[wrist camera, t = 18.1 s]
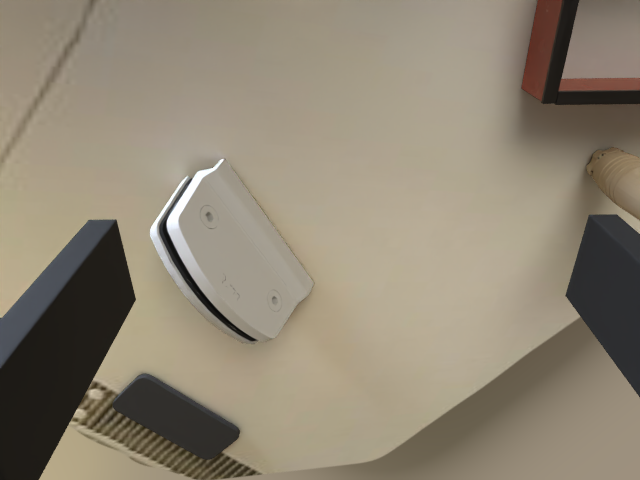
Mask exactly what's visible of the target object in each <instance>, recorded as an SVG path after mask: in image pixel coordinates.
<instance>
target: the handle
mask: <svg viewBox="0 0 640 480" xmlns="http://www.w3.org/2000/svg"><path fill="white" fill-rule="evenodd" d="M592 156H593V157H592V160H591V162H590V163H589V164H588V165H587V167H586V170H587V172H588V173H589V175H590V176H592V177H593V179H594V181H595V182H596V183H597V185H598V187H599V188H600V189H601V190H602V191H603V192H604V193H605V194H606V196H607V197H608V198H609V199H611V200H612V201H613V202H614V203H615V204H617V205H618V206H619V207H620V208H622V209H623V210H625V211H627V212H628V213H630V214H631V215H633V216H634V217H636V218H637V219H639V220H640V158H639V157H636V156H634V155H631V154H628V153H625V152H623V150H620V149H618V148H614V147H611V148H610V149H607V150H604V151H600V150H598V151H596V152H595V153H594V154H593V155H592Z"/></svg>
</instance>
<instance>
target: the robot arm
mask: <svg viewBox="0 0 640 480" xmlns="http://www.w3.org/2000/svg"><path fill="white" fill-rule="evenodd" d="M566 297H567V298H568V300H569V301H570V302H571V304H572V305H573V307H574V308H575V309H576V311H577V312H578V313H579V315H580V316H581V317H582V319H583V320H584V322H585V323H586V324H587V326H588V327H589V328H590V330H591V331H592V332H593V334H594V335H595V337H596V338H597V339H598V341H599V342H600V343H601V345H602V346H603V347H604V349H605V350H606V352H607V353H608V354H609V356H610V357H611V358H612V360H613V361H614V362H615V364H616V365H617V367H618V368H619V369H620V371H621V372H622V374H623V375H624V376H625V377H626V379H627V380H628V382H629V383H630V384H631V386H632V387H633V389H634V390H635V391H636V393H637V394H638V395H639V397H640V234H639V233H638V232H637V231H635V230H634V229H633V228H632V227H631V226H630V225H628V224H627V223H626V222H625V221H624V220H623V219H621V218H620V217H619V216H618V215H589V217H588V220H587V224H586V227H585V231H584V234H583V237H582V241H581V244H580V248H579V251H578V255H577V258H576V261H575V265H574V268H573V272H572V275H571V279H570V282H569V285H568V289H567V292H566ZM135 300H136V298H135V294H134V290H133V286H132V282H131V278H130V273H129V269H128V265H127V261H126V257H125V253H124V249H123V245H122V241H121V237H120V232H119V228H118V224H117V220H88V222H87V223H86V224H85V225H84V226H83V227H82V228H81V229H80V231H79V232H78V233H77V234H76V235H75V236H74V237H73V238H72V240H71V241H70V242H69V243H68V244H67V245H66V246H65V248H64V249H63V250H62V251H61V252H60V253H59V254H58V255H57V257H56V258H55V259H54V260H53V261H52V262H51V263H50V264H49V266H48V267H47V268H46V269H45V270H44V271H43V272H42V274H41V275H40V276H39V277H38V278H37V279H36V280H35V281H34V283H33V284H32V285H31V286H30V287H29V288H28V289H27V290H26V292H25V293H24V294H23V295H22V296H21V297H20V298H19V299H18V301H17V302H16V303H15V304H14V305H13V306H12V307H11V309H10V310H9V311H8V312H7V313H6V314H5V315H4V316H3V318H0V480H39V478H40V476H41V474H42V473H43V470H44V469H45V467H46V465H47V463H48V462H49V460H50V458H51V456H52V454H53V452H54V450H55V449H56V447H57V445H58V443H59V441H60V439H61V437H62V436H63V433H64V432H65V430H66V428H67V426H68V425H69V423H70V421H71V419H72V417H73V415H74V413H75V412H76V410H77V408H78V406H79V404H80V402H81V400H82V399H83V397H84V395H85V393H86V391H87V389H88V387H89V386H90V384H91V382H92V380H93V378H94V376H95V374H96V373H97V371H98V369H99V367H100V365H101V363H102V362H103V360H104V358H105V356H106V354H107V352H108V350H109V349H110V347H111V345H112V343H113V341H114V339H115V337H116V336H117V334H118V332H119V330H120V328H121V326H122V324H123V323H124V321H125V319H126V317H127V315H128V313H129V311H130V310H131V308H132V306H133V304H134V302H135Z"/></svg>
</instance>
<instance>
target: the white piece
mask: <svg viewBox="0 0 640 480" xmlns="http://www.w3.org/2000/svg"><path fill="white" fill-rule="evenodd" d="M150 236H151V239H152V241H153V243H154V246H155V248H156V250H157V252H158V254H159V256H160V258H161V260H162V262H163V264H164V265H165V267H166V269H167V270H168V272H169V274H170V275H171V277H172V278H173V280H174V281H175V283H176V284H177V286H178V287H179V289H180V290H181V291H182V293H183V294H184V295H185V297H186V298H187V299H188V300H189V301H190V303H191V304H192V305H193V306H194V307H195V308H196V309H197V310H198V311H199V312H200V313H201V314H202V315H203V316H204V317H205V318H206V319H207V320H208V321H209V322H211V323H212V324H213V325H214V326H215V327H217V328H218V329H219V330H221V331H222V332H224V333H225V334H227V335H228V336H230V337H232V338H233V339H235V340H237V341H239V342H241V343H246V344H255V343H257V342H258V341H260V342H266V341H269V340H271V339H273V338H275V337H276V336H277V335H278V334H279V332H280V330H281V329H282V327H283V326H284V324H285V323H286V321H287V320H288V318H289V316H290V315H291V313H292V312H293V310H294V309H295V307H296V306H297V304H298V303H299V302H300V301H302V300H303V299H304V298H305V297H307V296H308V295H309V293H310V291H311V289H312V287H313V285H314V282H313V281H312V279H311V278H310V277H309V275H308V274H307V272H306V271H305V270H304V268H303V267H302V265H301V264H300V263H299V261H298V260H297V258H296V257H295V256H294V254H293V253H292V251H291V250H290V249H289V247H288V246H287V244H286V243H285V242H284V240H283V239H282V237H281V236H280V235H279V233H278V232H277V230H276V229H275V228H274V226H273V225H272V223H271V222H270V221H269V219H268V218H267V216H266V215H265V214H264V212H263V211H262V209H261V208H260V207H259V205H258V204H257V202H256V201H255V200H254V198H253V197H252V195H251V194H250V193H249V191H248V190H247V188H246V187H245V186H244V184H243V183H242V181H241V180H240V179H239V177H238V176H237V174H236V173H235V172H234V170H233V169H232V167H231V166H230V165H229V163H228V162H227V160H226V159H221V160H220V161H219V162H218V163H217V164H216V166H215V167H214V168H210V169H206V170H201V171H198V172H197V173H196V175H195V176H194V178H193V179H190V178H189V177H188V176H187V177H186V178H185V179H184V180H183V181H182V182H181V183H180V184H179V186H178V187H177V189H176V191H175V192H174V194H173V195H172V197H171V198H170V200H169V201H168V203H167V204H166V206H165V207H164V209H163V210H162V212H161V213H160V215H159V216H158V218H157V219H156V221H155V222H154V224H153V225H152V227H151V230H150Z"/></svg>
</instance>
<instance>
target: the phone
mask: <svg viewBox="0 0 640 480" xmlns="http://www.w3.org/2000/svg"><path fill="white" fill-rule="evenodd" d="M113 408H114V409H115V410H116V411H118V412H119V413H121V414H123V415H125V416H126V417H128V418H130V419H132V420H134V421H135V422H137V423H139V424H141V425H142V426H144V427H146V428H148V429H150V430H151V431H153V432H155V433H157V434H159V435H160V436H162V437H164V438H166V439H168V440H169V441H171V442H173V443H175V444H177V445H178V446H180V447H182V448H184V449H186V450H187V451H189V452H191V453H193V454H195V455H196V456H198V457H200V458H202V459H206V460H209V459H212V458H214V457H215V456H217V455H218V454H219V453H220V452H222V451H223V450H224V449H226V448H227V447H228V446H229V445H231V444H232V443H233V442H234V441H236V440H237V439H238V437H239V433H240V430H239V429H238V428H237V427H236V426H235V425H233V424H231V423H230V422H228V421H226V420H225V419H223V418H221V417H220V416H218V415H216V414H215V413H213V412H211V411H210V410H208V409H206V408H205V407H203V406H201V405H200V404H198V403H196V402H195V401H193V400H191V399H190V398H188V397H186V396H185V395H183V394H181V393H180V392H178V391H176V390H175V389H173V388H171V387H170V386H168V385H166V384H165V383H163V382H161V381H160V380H158V379H156V378H155V377H153V376H151V375H148V374H141V375H139V376H138V377H137V378H136V379H135V380H134V381H133V382H132V383H130V384H129V385H128V386H127V387H126V388H125V389H124V390H123V391H122V392H121V393H120V394H119V395H118V396H117V397H116V398H115V400H114V402H113Z"/></svg>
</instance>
